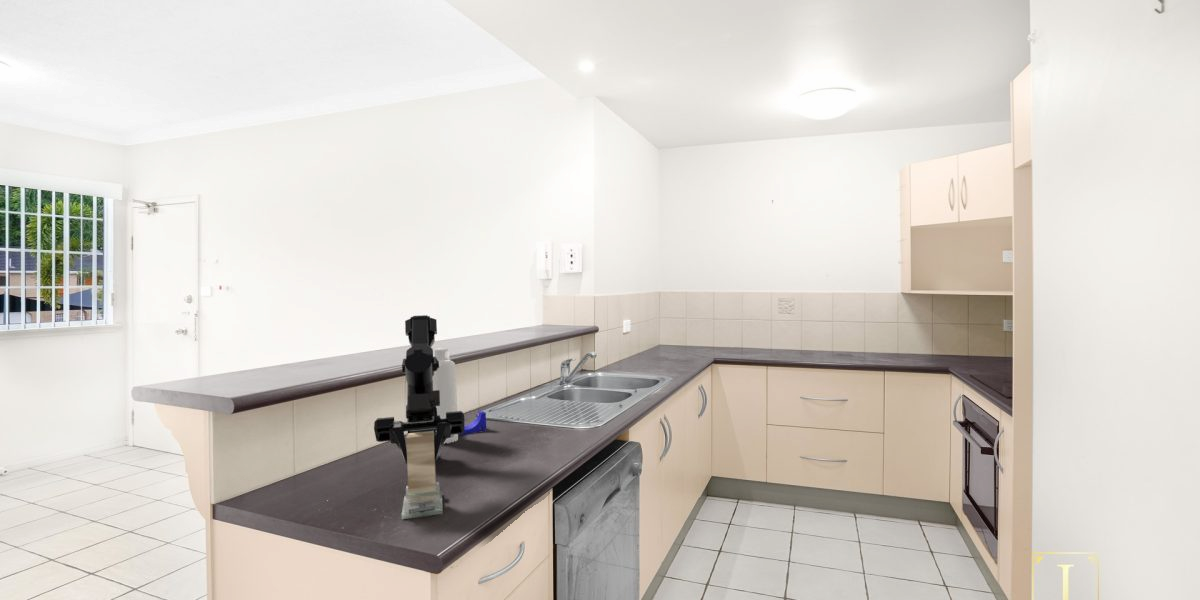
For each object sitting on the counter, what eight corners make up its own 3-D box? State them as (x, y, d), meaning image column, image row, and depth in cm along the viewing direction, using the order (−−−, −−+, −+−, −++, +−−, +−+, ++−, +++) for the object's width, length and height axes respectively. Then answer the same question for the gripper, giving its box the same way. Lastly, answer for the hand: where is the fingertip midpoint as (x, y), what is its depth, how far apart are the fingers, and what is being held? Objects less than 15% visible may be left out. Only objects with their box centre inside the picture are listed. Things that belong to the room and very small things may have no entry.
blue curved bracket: (482, 428, 183) (481, 410, 183) (486, 431, 179) (485, 412, 179) (445, 433, 177) (444, 415, 177) (449, 437, 173) (448, 418, 173)
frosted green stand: (404, 499, 123) (403, 485, 123) (442, 494, 125) (441, 480, 125) (401, 523, 110) (400, 507, 110) (442, 517, 113) (442, 501, 113)
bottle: (438, 436, 174) (435, 347, 173) (462, 436, 172) (459, 347, 171) (425, 443, 166) (422, 350, 165) (450, 444, 164) (447, 350, 164)
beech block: (409, 488, 119) (407, 433, 119) (435, 485, 121) (433, 430, 121) (408, 494, 116) (406, 437, 116) (435, 491, 118) (433, 435, 117)
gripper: (373, 381, 119) (369, 447, 109) (462, 375, 124) (466, 437, 114) (378, 409, 127) (375, 473, 117) (462, 402, 132) (466, 463, 122)
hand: (421, 461), depth 117 cm, fingers closed on beech block, 5 cm apart
